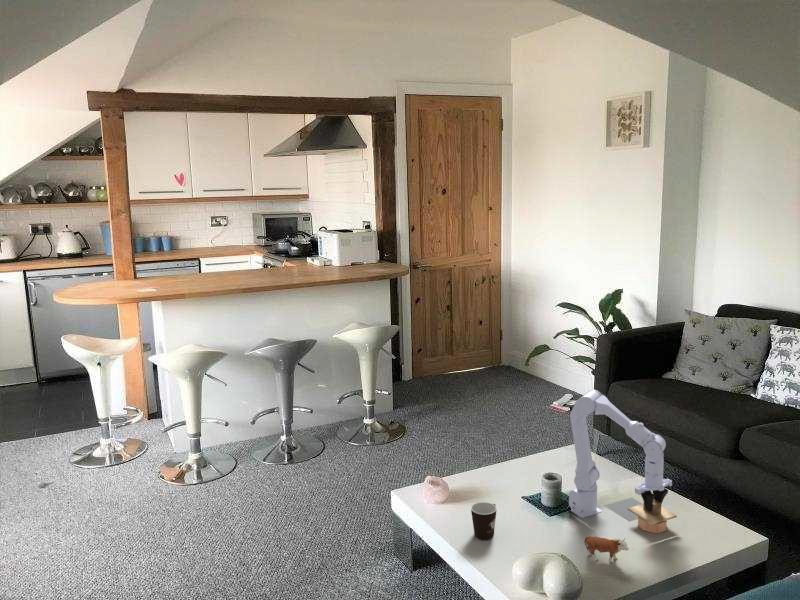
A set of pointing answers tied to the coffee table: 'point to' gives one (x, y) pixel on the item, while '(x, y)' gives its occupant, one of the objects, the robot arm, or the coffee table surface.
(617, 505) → the mat
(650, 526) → the terracotta bowl
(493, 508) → the coffee mug
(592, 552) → the bull figurine
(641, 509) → the oak lid
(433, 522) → the coffee table surface
